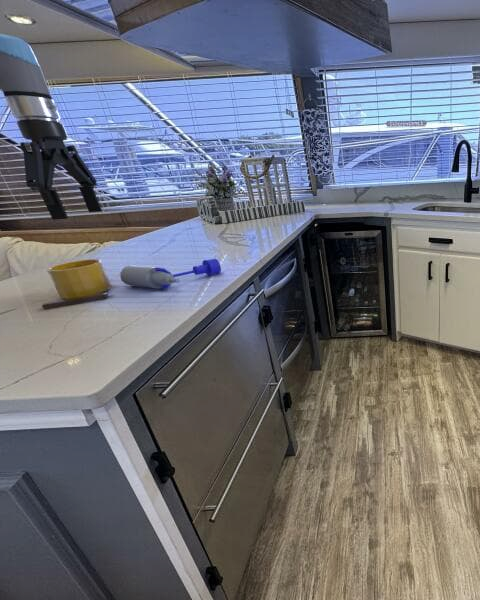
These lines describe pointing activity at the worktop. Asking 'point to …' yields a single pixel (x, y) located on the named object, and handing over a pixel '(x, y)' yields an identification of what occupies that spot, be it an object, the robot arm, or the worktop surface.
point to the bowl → (79, 278)
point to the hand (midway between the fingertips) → (79, 215)
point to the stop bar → (75, 300)
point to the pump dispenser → (163, 274)
